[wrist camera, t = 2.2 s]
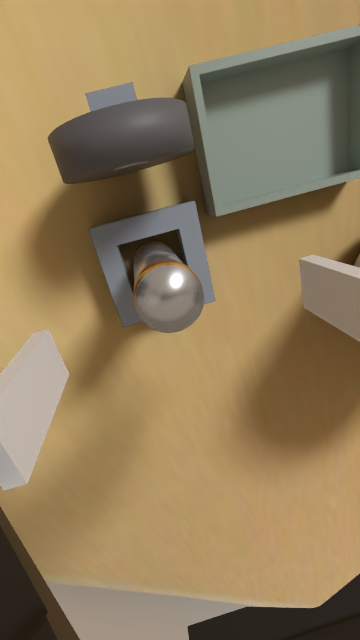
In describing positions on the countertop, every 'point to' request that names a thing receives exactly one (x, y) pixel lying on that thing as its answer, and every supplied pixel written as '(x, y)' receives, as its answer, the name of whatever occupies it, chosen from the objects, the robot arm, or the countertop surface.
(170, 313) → the pin
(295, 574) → the countertop surface
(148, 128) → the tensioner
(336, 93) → the tray
